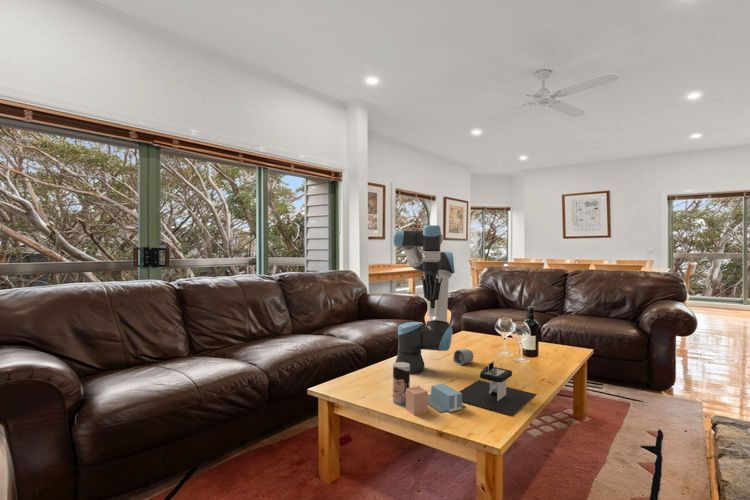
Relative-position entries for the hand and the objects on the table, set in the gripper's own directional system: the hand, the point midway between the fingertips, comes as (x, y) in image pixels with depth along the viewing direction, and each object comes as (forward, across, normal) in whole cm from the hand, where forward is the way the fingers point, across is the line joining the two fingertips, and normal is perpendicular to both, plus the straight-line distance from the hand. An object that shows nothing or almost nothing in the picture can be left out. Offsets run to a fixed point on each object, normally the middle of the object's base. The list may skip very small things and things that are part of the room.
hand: (431, 315), depth 175 cm
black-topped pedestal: (+32, +18, +19) cm, 42 cm away
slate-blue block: (+29, +23, -4) cm, 37 cm away
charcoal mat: (+32, +14, -4) cm, 35 cm away
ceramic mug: (+33, -25, +36) cm, 55 cm away
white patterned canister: (+33, +6, -18) cm, 38 cm away
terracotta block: (+33, +16, -17) cm, 40 cm away
